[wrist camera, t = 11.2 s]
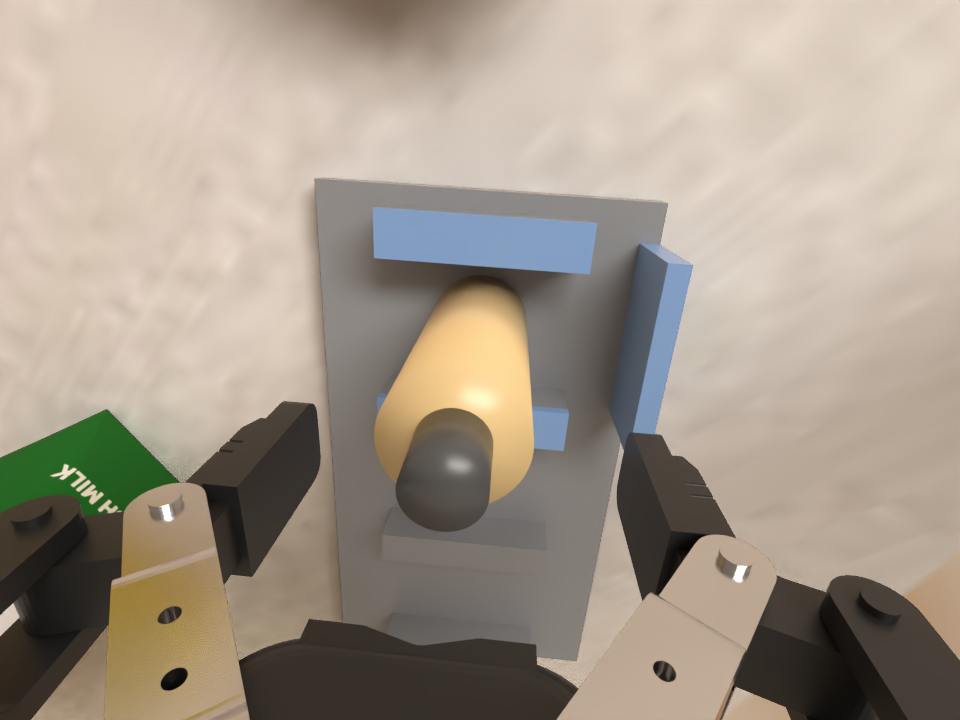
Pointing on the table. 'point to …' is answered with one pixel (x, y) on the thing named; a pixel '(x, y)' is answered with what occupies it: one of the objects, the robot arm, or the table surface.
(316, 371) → the table surface
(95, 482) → the milk carton
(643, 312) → the slotted grey board
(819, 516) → the table surface
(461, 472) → the yellow bottle
